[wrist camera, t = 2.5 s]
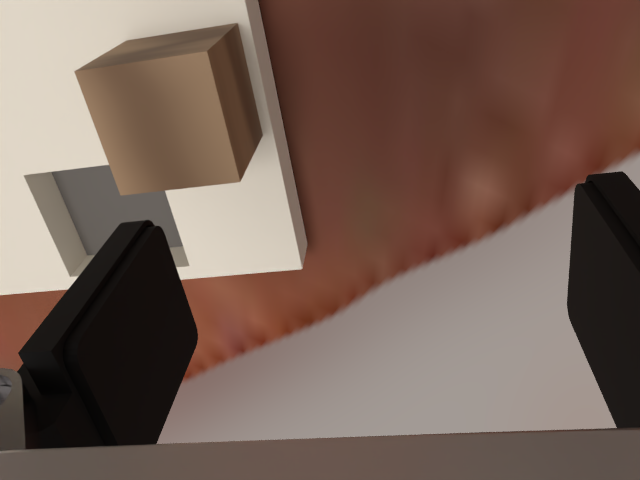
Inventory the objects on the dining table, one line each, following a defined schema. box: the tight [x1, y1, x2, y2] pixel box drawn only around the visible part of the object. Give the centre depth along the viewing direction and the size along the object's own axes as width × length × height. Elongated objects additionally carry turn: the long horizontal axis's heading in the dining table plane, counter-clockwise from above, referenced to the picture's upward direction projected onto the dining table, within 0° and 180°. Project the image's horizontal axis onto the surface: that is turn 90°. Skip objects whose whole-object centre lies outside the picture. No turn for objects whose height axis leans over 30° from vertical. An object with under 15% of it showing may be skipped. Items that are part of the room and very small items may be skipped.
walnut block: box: [74, 23, 263, 196], centre depth 24 cm, size 5×5×5 cm
